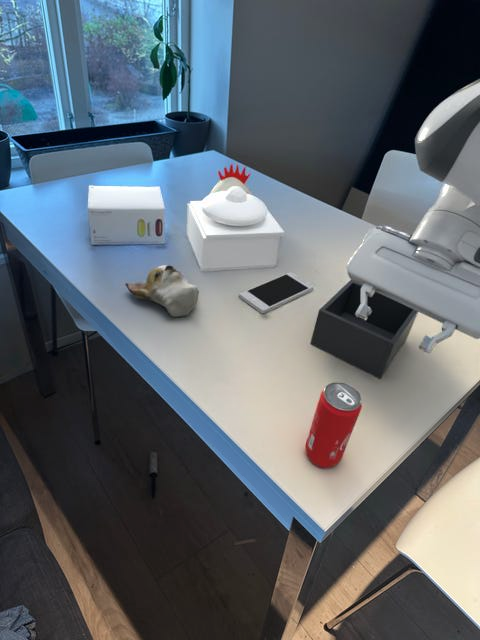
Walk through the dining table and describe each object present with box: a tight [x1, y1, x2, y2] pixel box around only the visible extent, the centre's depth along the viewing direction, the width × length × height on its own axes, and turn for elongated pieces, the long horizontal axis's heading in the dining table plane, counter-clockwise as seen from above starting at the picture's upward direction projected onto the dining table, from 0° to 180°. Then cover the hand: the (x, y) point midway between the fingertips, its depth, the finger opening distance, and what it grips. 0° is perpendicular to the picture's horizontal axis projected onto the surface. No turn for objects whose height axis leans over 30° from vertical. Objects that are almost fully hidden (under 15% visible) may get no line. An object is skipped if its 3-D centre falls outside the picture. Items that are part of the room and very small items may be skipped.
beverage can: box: [305, 381, 363, 469], centre depth 59 cm, size 5×5×12 cm
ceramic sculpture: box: [124, 264, 200, 318], centre depth 85 cm, size 11×9×15 cm
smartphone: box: [239, 271, 315, 314], centre depth 93 cm, size 7×16×1 cm, turn 132°
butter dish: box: [186, 187, 285, 272], centre depth 102 cm, size 18×18×16 cm
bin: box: [310, 279, 419, 380], centre depth 81 cm, size 14×14×8 cm
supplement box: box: [87, 185, 166, 246], centre depth 106 cm, size 17×13×9 cm
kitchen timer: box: [209, 163, 253, 195], centre depth 115 cm, size 14×14×15 cm
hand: (390, 333), depth 60 cm, fingers open, 8 cm apart
